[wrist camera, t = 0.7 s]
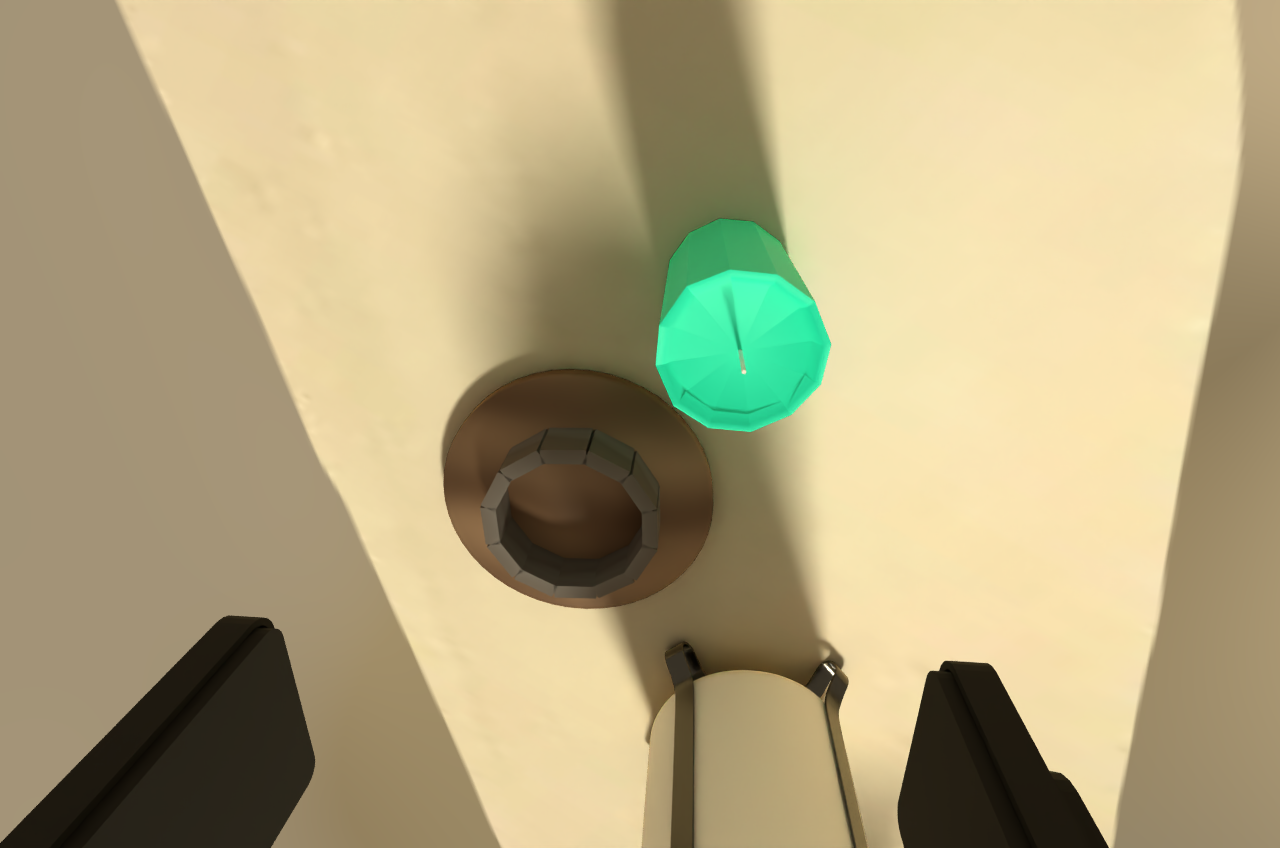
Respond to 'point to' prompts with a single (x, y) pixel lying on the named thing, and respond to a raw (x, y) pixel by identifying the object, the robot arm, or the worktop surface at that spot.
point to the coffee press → (749, 762)
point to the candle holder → (579, 489)
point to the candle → (738, 329)
